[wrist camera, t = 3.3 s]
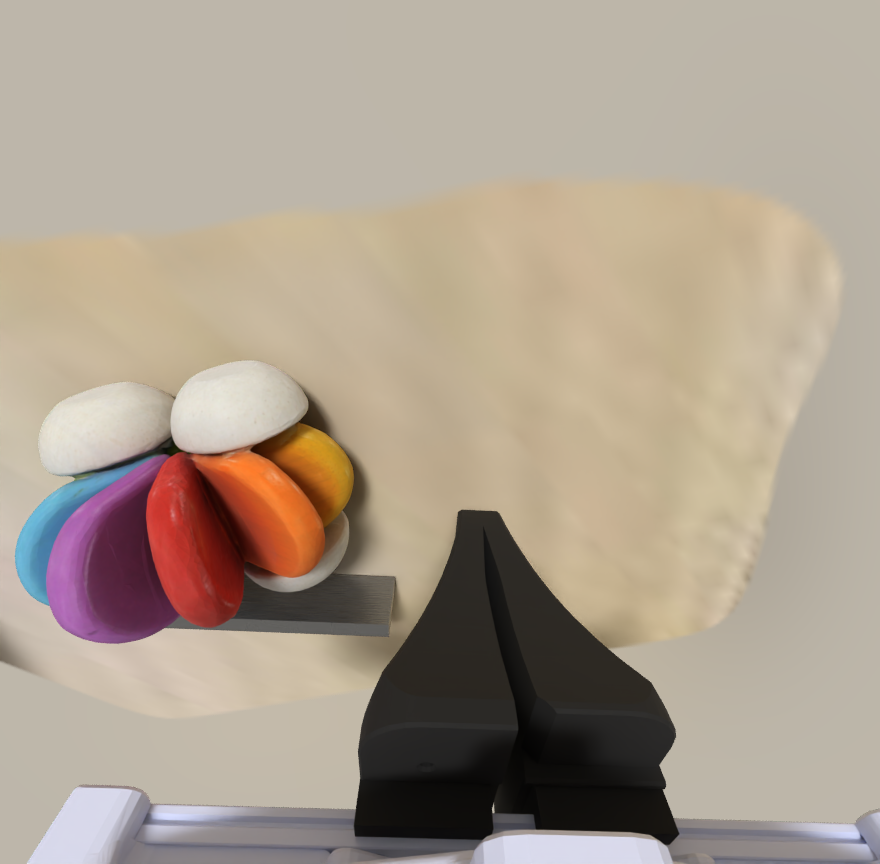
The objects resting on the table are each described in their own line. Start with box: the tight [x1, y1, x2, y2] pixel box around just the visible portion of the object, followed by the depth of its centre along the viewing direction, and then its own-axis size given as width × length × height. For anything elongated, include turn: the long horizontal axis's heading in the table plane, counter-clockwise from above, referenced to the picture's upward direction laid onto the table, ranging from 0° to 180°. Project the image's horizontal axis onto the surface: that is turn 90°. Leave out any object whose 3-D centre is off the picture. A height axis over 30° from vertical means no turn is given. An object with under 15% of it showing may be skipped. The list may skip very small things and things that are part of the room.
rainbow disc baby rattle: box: [15, 360, 354, 644], centre depth 13 cm, size 8×10×7 cm
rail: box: [165, 572, 395, 637], centre depth 18 cm, size 10×1×2 cm, turn 87°
